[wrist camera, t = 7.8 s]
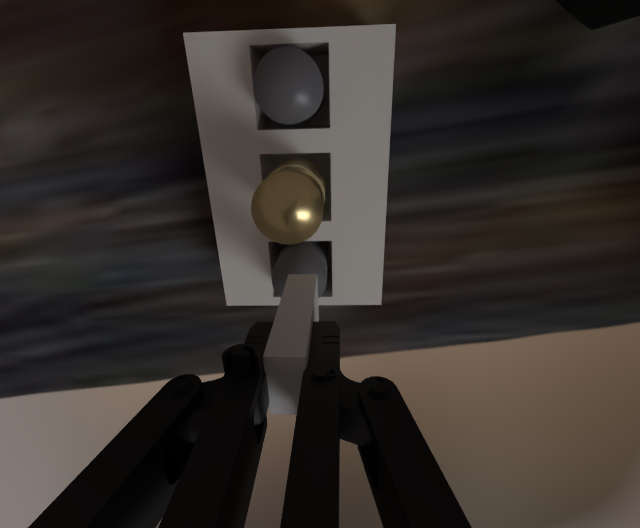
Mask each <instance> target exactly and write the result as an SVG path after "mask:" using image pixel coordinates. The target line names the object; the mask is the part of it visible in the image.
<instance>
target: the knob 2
mask: <svg viewBox="0 0 640 528" xmlns="http://www.w3.org/2000/svg"><path fill="white" fill-rule="evenodd" d="M327 265H328V242H327V241H303V242H301V243H297V244H290V245H289V244H283V246H282V248H281V251H280V254H279V257H278V259H277V262H276V265H275V267H274V270H273V273H272V285H273V288H274V290H275V291H276V293H277V294H278V295H279V296H280V297H282V294H283V291H284V287H285V284H286V281H287V278H288V274H317V284H318V298H319V297H320V296H321V295H322V294H323V293H324V291H325V288H326V285H327Z"/></svg>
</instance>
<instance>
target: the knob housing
mask: <svg viewBox="0 0 640 528" xmlns="http://www.w3.org/2000/svg"><path fill="white" fill-rule="evenodd" d="M395 32H396V24H385V25H361V26H336V27H312V28H288V29H263V30H239V31H214V32H190V33H183V36H184V43H185V49H186V55H187V61H188V67H189V74H190V80H191V86H192V92H193V98H194V105H195V111H196V117H197V123H198V129H199V136H200V142H201V148H202V154H203V160H204V167H205V173H206V179H207V185H208V191H209V198H210V204H211V210H212V216H213V222H214V229H215V235H216V241H217V247H218V253H219V260H220V266H221V272H222V278H223V284H224V291H225V297H226V303H227V305H279V303H280V300H281V297H280V296H279V295H278V294H277V293H276V291H275V290H274V288H273V285H272V273H273V270H274V267H275V265H276V262H277V259H278V257H279V254H280V251H281V248H282V246H283V244H280V243H277V242H274V241H272V240H270V239H269V238H267V237H266V236H264V235H263V234H262V233H261V232H260V231H259V229H258V228H257V226H256V225H255V223H254V221H253V218H252V213H251V201H252V197H253V195H254V192H255V190H256V189H257V187H258V186H259V185H260V184H261V183H262V182H263V181H264V180H265V179H266V178H267V177H268V175H269V174H270V173H271V172H272V171H273V170H274V169H275V168H276V167H277V166H278V165H279V164H280V163H281V162H283V161H285V160H287V159H289V158H294V157H301V158H305V159H308V160H310V161H312V162H314V163H315V164H316V165H317V166H318V167H319V168H320V169H321V171H322V173H323V175H324V177H325V181H326V191H325V201H324V211H323V218H322V222H321V224H320V226H319V228H318V230H317V231H316V232H315V234H314V235H312V236H311V237H310V238H309V239H307V240H305V241H327V242H328V265H327V285H326V288H325V291H324V293H323V294H322V295H321V296H320V297H319V298H318V305H381V299H382V280H383V261H384V242H385V223H386V204H387V185H388V166H389V147H390V128H391V108H392V89H393V70H394V51H395ZM283 46H291V47H295V48H298V49H301V50H302V51H304V52H306V53H307V54H308V55H309V56H310V57H311V58H312V59H313V60H314V61H315V63H316V65H317V66H318V68H319V71H320V73H321V76H322V78H323V81H324V85H325V98H324V102H323V104H322V106H321V108H320V110H319V111H318V112H317V113H316V114H315V115H314V116H312V117H311V118H309V119H307V120H304V121H302V122H300V123H296V124H282V123H278V122H276V121H274V120H272V119H271V118H269V117H268V116H267V115H266V114H265V113H264V112H263V111H262V110H261V108H260V107H259V105H258V103H257V101H256V98H255V95H254V89H253V78H254V73H255V70H256V67H257V65H258V63H259V62H260V60H261V59H262V58H263V57H264V55H266V54H267V53H268V52H269V51H271V50H273V49H275V48H278V47H283Z"/></svg>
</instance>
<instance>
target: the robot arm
mask: <svg viewBox="0 0 640 528" xmlns="http://www.w3.org/2000/svg"><path fill="white" fill-rule="evenodd" d="M318 321H319V313H318V284H317V274H288V278H287V281H286V284H285V287H284V291H283V294H282V297H281V300H280V303H279V307H278V310H277V313H276V316H275V320H274V322H257V323H256V324H254V325H253V326H252V327H251V328H250V330H249V332H248V335H247V337H246V340H245V344H238V345H235V346H232V347H230V348H228V349H227V350H225V351H224V353H223V354H222V360H223V366H224V371H225V374H224V376H223V377H222V378H219V379H216V380H212V381H207V382H203V383H202V382H201V380H200V378H199V377H198V376H196V375H193V374H185V375H181V376H178V377H175V378H173V379H171V380H170V381H169V382H168V383H166V384H165V386H164V387H162V389H161V390H160V391H159V392H158V393H157V394H156V395H155V396H154V397H153V398H152V399H151V400H150V401H149V402H148V403H147V404H146V405H145V406H144V407H143V408H142V409H141V410H140V411H139V412H138V414H137V415H136V416H135V417H134V418H133V419H132V420H131V421H130V422H129V423H128V424H127V425H126V426H125V427H124V428H123V429H122V430H121V431H120V432H119V433H118V434H117V435H116V436H115V437H114V439H113V440H112V441H111V442H110V443H109V444H108V445H107V446H106V447H105V448H104V449H103V450H102V451H101V452H100V453H99V454H98V455H97V456H96V458H94V460H92V461H91V462H90V464H89V465H88V466H87V467H86V468H85V469H84V470H83V471H82V472H81V473H80V474H79V475H78V476H77V477H76V478H75V479H74V480H73V481H72V482H71V483H70V484H69V485H68V486H67V488H66V489H65V490H64V491H63V492H62V493H61V494H60V495H59V496H58V497H57V498H56V499H55V500H54V501H53V502H52V503H51V504H50V505H49V506H48V507H47V508H46V510H44V511H43V513H42V514H41V515H40V516H39V517H38V518H37V519H36V520H35V521H34V522H33V523H32V524H31V525H30V526H29V527H28V528H155V527H156V526H157V525H158V523H159V521H160V520H161V519H162V520H161V523H160V525H159V527H158V528H244V526H245V521H246V516H247V512H248V508H249V503H250V499H251V495H252V491H253V486H254V482H255V477H256V473H257V468H258V464H259V460H260V455H261V451H262V446H263V442H264V438H265V433H266V428H267V416H266V414H267V409H268V405H269V411H270V414H295V415H297V416H296V423H295V430H294V437H293V444H292V451H291V458H290V465H289V471H288V479H287V485H286V492H285V499H284V506H283V513H282V519H281V526H280V528H339V452H340V447H339V444H340V439H342V440H345V441H348V442H351V443H354V444H357V445H358V450H359V453H360V456H361V459H362V462H363V465H364V469H365V472H366V475H367V478H368V481H369V484H370V487H371V490H372V494H373V497H374V500H375V503H376V506H377V509H378V512H379V515H380V518H381V521H382V525H383V528H471V526H470V524H469V522H468V520H467V518H466V516H465V515H464V513H463V511H462V509H461V507H460V505H459V503H458V501H457V499H456V497H455V496H454V494H453V492H452V490H451V488H450V486H449V484H448V482H447V481H446V479H445V477H444V475H443V473H442V471H441V469H440V467H439V465H438V464H437V462H436V460H435V458H434V456H433V454H432V452H431V451H430V449H429V447H428V445H427V443H426V441H425V439H424V437H423V436H422V433H421V432H420V430H419V428H418V426H417V424H416V422H415V420H414V419H413V417H412V415H411V413H410V411H409V409H408V407H407V405H406V404H405V401H404V400H403V398H402V396H401V394H400V392H399V390H398V389H397V387H396V386H395V384H394V383H393V382H392V381H390V380H388V379H387V378H383V377H380V376H375V377H369V378H366V379H365V380H363V381H362V382H361V383H358V382H355V381H352V380H350V379H348V378H346V377H345V376H344V375H343V374H342V372H341V371H340V328H339V327H338V325H337V324H336V322H318ZM162 517H163V518H162Z"/></svg>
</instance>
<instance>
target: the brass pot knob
mask: <svg viewBox="0 0 640 528" xmlns="http://www.w3.org/2000/svg"><path fill="white" fill-rule="evenodd" d="M325 191H326V181H325V177H324V175H323V173H322V171H321V169H320V168H319V167H318V166H317V165H316V164H315V163H314V162H312V161H310V160H308V159H305V158H301V157H294V158H289V159H287V160H285V161H283V162H281V163H280V164H279V165H278V166H277V167H276V168H275V169H274V170H273V171H272V172H271V173H270V174H269V175H268V177H267V178H266V179H265V180H264V181H263V182H262V183H261V184H260V185H259V186H258V187H257V189H256V190H255V192H254V195H253V197H252V201H251V213H252V218H253V221H254V223H255V225H256V226H257V228H258V229H259V231H260V232H261V233H262V234H263V235H264V236H266V237H267V238H269V239H270V240H272V241H274V242H277V243H280V244H289V245H290V244H297V243H301V242H303V241H305V240H307V239H309V238H310V237H311V236H312V235H314V234H315V232H316V231H317V230H318V228H319V226H320V224H321V222H322V218H323V211H324V201H325Z"/></svg>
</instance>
